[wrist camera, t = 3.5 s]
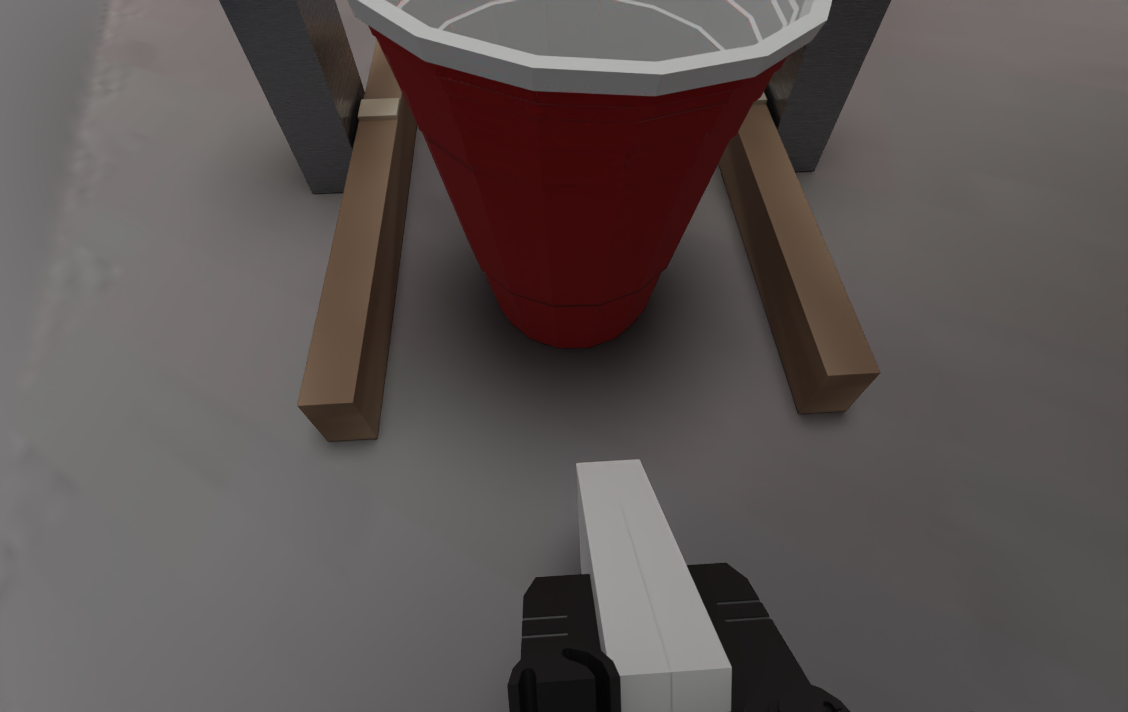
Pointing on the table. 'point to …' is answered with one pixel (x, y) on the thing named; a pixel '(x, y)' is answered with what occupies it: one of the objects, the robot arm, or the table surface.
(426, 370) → the table surface
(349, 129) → the grey and wooden frame
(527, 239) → the plastic cup
